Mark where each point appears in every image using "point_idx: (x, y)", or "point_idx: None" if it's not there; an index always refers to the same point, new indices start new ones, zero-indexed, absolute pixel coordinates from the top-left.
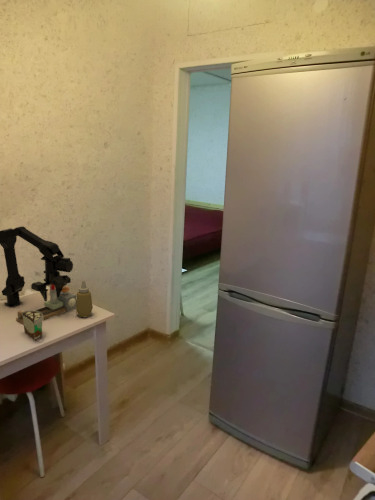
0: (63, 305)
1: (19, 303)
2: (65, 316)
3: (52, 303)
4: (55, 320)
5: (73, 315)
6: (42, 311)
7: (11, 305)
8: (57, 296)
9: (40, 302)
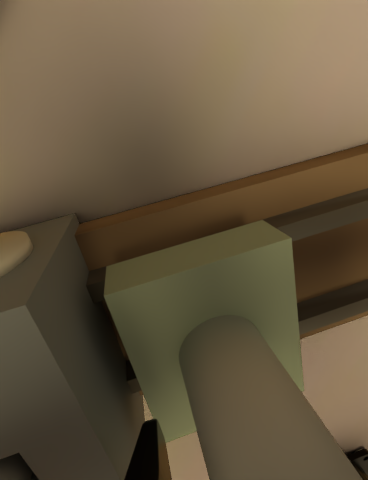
0: (97, 283)
1: None
2: (145, 84)
3: (252, 321)
4: (280, 57)
5: (42, 37)
6: (309, 286)
7: (361, 465)
8: (162, 443)
9: (201, 465)
